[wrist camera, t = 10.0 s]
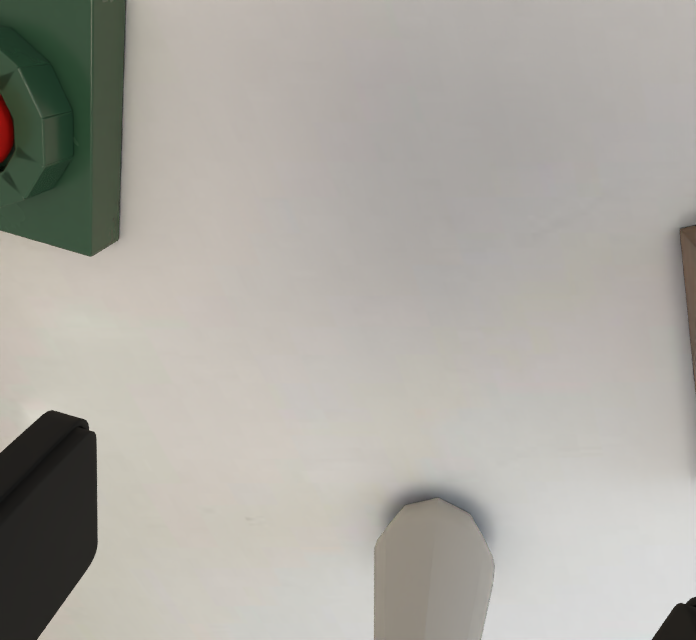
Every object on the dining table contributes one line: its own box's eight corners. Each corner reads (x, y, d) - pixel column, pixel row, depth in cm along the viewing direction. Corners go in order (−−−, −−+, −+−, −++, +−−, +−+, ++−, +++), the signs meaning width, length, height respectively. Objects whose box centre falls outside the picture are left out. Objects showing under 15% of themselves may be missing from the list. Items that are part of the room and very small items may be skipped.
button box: (-68, -54, 23) (-166, -66, 20) (126, -5, 23) (60, -8, 19) (-42, 194, 28) (-117, 220, 24) (119, 240, 27) (65, 273, 24)
